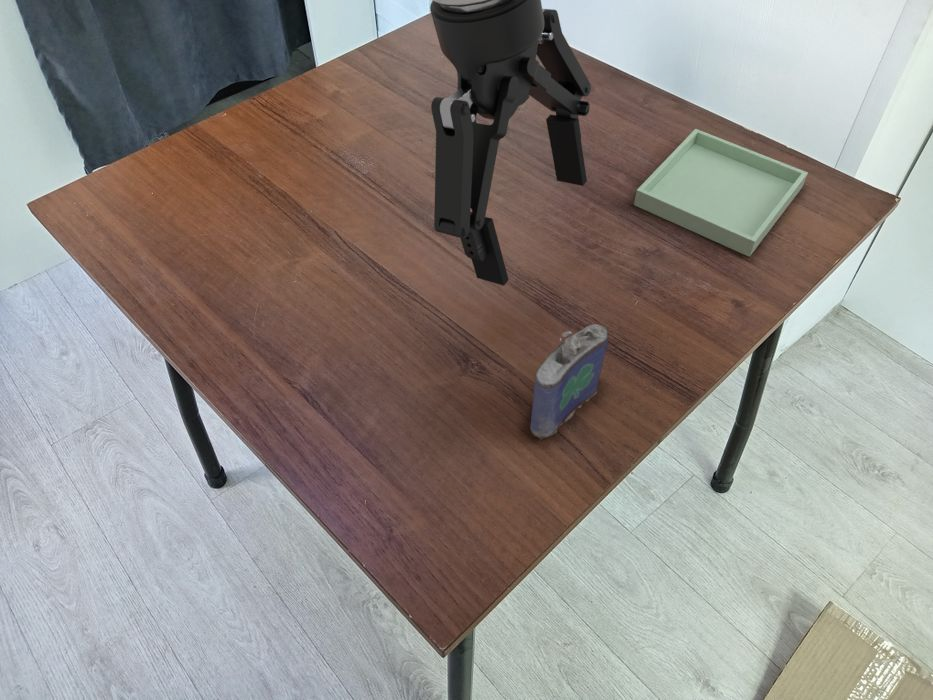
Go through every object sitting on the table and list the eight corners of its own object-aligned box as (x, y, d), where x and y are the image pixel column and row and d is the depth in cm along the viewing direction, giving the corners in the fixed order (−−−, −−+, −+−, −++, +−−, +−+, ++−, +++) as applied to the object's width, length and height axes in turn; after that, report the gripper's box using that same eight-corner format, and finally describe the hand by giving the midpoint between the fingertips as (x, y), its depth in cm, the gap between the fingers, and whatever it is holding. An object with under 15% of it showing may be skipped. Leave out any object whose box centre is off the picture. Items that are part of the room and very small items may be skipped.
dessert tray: (802, 187, 97) (808, 172, 95) (749, 257, 89) (755, 241, 88) (691, 143, 103) (695, 128, 101) (633, 205, 95) (636, 189, 94)
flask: (543, 445, 74) (551, 377, 66) (520, 427, 76) (525, 358, 67) (604, 388, 78) (618, 318, 70) (581, 372, 80) (592, 301, 71)
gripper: (528, -94, 60) (566, 139, 75) (325, 80, 49) (418, 313, 64) (616, -95, 56) (637, 151, 72) (418, 93, 45) (493, 338, 60)
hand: (534, 228), depth 68 cm, fingers open, 13 cm apart
